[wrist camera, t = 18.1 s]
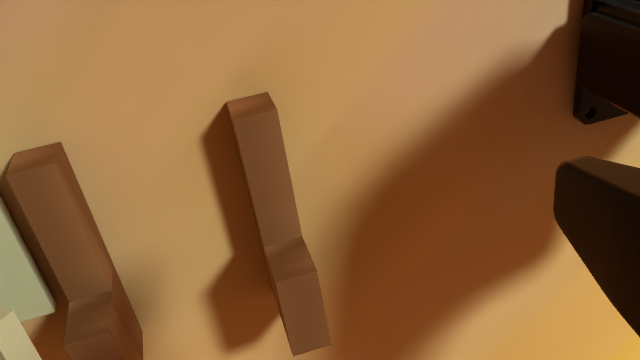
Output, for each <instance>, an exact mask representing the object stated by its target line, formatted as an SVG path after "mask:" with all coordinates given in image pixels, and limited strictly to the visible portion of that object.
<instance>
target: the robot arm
mask: <svg viewBox="0 0 640 360" xmlns="http://www.w3.org/2000/svg"><path fill="white" fill-rule="evenodd" d="M588 108H590V109H589V111H588V112H587V113H586V111H587V110H588ZM585 113H586V114H585ZM625 114H631V115H633V116H635V117H637V118H639V119H640V0H584V8H583V18H582V28H581V37H580V47H579V57H578V67H577V77H576V88H575V98H574V108H573V116H574V118H575V119H576V120H578V121H579V122H581V123H583V124H585V125H586V124H592V123H596V122H599V121H603V120H607V119H610V118H614V117H618V116H621V115H625ZM553 209H554V216H555V219H556V221H557V224H558V225H559V227H560V228H561V230H562V231H563V233H564V234H565V236H566V237H567V239H568V240H569V242H570V243H571V245H572V246H573V248H574V249H575V251H576V252H577V254H578V255H579V257H580V258H581V259H582V261H583V262H584V264H585V265H586V267H587V268H588V270H589V271H590V273H591V274H592V276H593V277H594V279H595V280H596V282H597V283H598V285H599V286H600V288H601V289H602V290H603V292H604V293H605V295H606V296H607V297H608V299H609V300H610V302H611V303H612V304H613V306H614V307H615V308H616V309H617V311H618V312H619V313H620V314H621V316H622V317H623V318H624V319H625V320H626V322H627V323H628V324H629V325H630V326H631V327H632V329H633V330H634V331H635V332H636V333H637V335H638V336H639V337H640V168H636V167H632V166H628V165H623V164H619V163H615V162H611V161H606V160H602V159H598V158H593V157H588V156H584V157H579V158H576V159H572V160H569V161H565V162H562V163H561V164H560V165H559V166H558V167H557V170H556V176H555V191H554V206H553Z"/></svg>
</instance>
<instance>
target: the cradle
mask: <svg viewBox="0 0 640 360" xmlns="http://www.w3.org/2000/svg"><path fill="white" fill-rule="evenodd" d="M55 308H56V301H55V299H54V297H53V296H52V294H51V292H50V290H49V288H48V286H47V284H46V282H45V280H44V278H43V276H42V275H41V273H40V271H39V269H38V267H37V265H36V263H35V261H34V259H33V257H32V255H31V253H30V252H29V250H28V248H27V246H26V244H25V242H24V240H23V238H22V236H21V234H20V232H19V230H18V229H17V227H16V225H15V223H14V221H13V219H12V217H11V215H10V213H9V211H8V209H7V207H6V206H5V204H4V202H3V200H2V198H1V196H0V360H42V359H41V357H40V356H39V354H38V352H37V350H36V349H35V347H34V345H33V344H32V342H31V340H30V338H29V337H28V335H27V333H26V332H25V330H24V328H23V326H22V325H21V323H20V322H23V321H26V320H30V319H33V318H37V317H40V316H44V315H47V314H51V313H54V312H55Z"/></svg>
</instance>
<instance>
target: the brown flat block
mask: <svg viewBox="0 0 640 360" xmlns="http://www.w3.org/2000/svg"><path fill="white" fill-rule="evenodd" d="M226 103H227V107H228V111H229V115H230V119H231V123H232V127H233V131H234V135H235V139H236V143H237V147H238V152H239V156H240V160H241V164H242V168H243V172H244V176H245V180H246V184H247V188H248V192H249V196H250V200H251V204H252V208H253V212H254V216H255V220H256V224H257V228H258V232H259V236H260V241H261V245H262V249H263V253H264V257H265V261H266V265H267V269H268V273H269V277H270V281H271V285H272V289H273V293H274V296H275V300H276V303H277V306H278V309H279V312H280V316H281V319H282V322H283V325H284V328H285V332H286V335H287V338H288V341H289V344H290V348H291V351H292V354H293V356H296V355H299V354H303V353H306V352H309V351H312V350H315V349H318V348H321V347H325V346H328V345H331V343H330V338H329V332H328V327H327V322H326V316H325V311H324V306H323V300H322V295H321V290H320V285H319V279H318V274H317V270H316V267H315V265H314V263H313V260H312V258H311V256H310V253H309V251H308V249H307V247H306V244H305V242H304V240H303V237H302V233H301V228H300V223H299V218H298V213H297V208H296V203H295V198H294V193H293V188H292V183H291V178H290V173H289V168H288V163H287V158H286V153H285V148H284V143H283V137H282V132H281V127H280V122H279V117H278V112H277V108H276V107H275V105H274V103H273V101H272V99H271V97H270V96H269V94H268V92H266V93H261V94H257V95H253V96H249V97H245V98H241V99H237V100H232V101H228V102H226ZM5 177H6V179H7V181H8V183H9V185H10V187H11V189H12V191H13V193H14V195H15V197H16V199H17V200H18V202H19V204H20V206H21V208H22V210H23V212H24V214H25V216H26V218H27V220H28V222H29V224H30V226H31V228H32V230H33V232H34V234H35V236H36V238H37V240H38V242H39V244H40V246H41V248H42V250H43V252H44V254H45V256H46V258H47V260H48V262H49V264H50V266H51V268H52V270H53V272H54V274H55V276H56V278H57V280H58V282H59V284H60V286H61V287H62V289H63V291H64V293H65V295H66V297H67V299H68V301H69V307H68V314H67V320H66V327H65V334H64V341H63V347H64V349H65V351H66V353H67V354H68V356H69V358H70V360H143V338H142V330H141V328H140V325H139V323H138V321H137V318H136V316H135V314H134V311H133V309H132V307H131V304H130V302H129V300H128V297H127V295H126V293H125V290H124V288H123V286H122V284H121V281H120V279H119V277H118V274H117V272H116V270H115V267H114V265H113V263H112V260H111V258H110V256H109V253H108V251H107V249H106V246H105V244H104V242H103V239H102V237H101V235H100V232H99V230H98V228H97V225H96V223H95V221H94V218H93V216H92V214H91V211H90V209H89V207H88V204H87V202H86V200H85V197H84V195H83V193H82V190H81V188H80V186H79V183H78V181H77V179H76V177H75V174H74V172H73V170H72V167H71V165H70V163H69V160H68V158H67V156H66V153H65V151H64V149H63V146H62V144H61V142H58V143H54V144H50V145H46V146H42V147H38V148H33V149H29V150H25V151H21V152H17V153H14V155H13V158H12V160H11V163H10V165H9V168H8V170H7V173H6V175H5Z"/></svg>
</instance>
